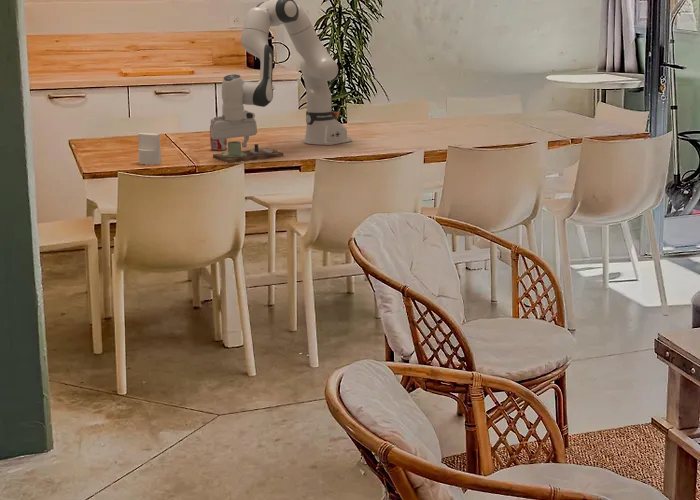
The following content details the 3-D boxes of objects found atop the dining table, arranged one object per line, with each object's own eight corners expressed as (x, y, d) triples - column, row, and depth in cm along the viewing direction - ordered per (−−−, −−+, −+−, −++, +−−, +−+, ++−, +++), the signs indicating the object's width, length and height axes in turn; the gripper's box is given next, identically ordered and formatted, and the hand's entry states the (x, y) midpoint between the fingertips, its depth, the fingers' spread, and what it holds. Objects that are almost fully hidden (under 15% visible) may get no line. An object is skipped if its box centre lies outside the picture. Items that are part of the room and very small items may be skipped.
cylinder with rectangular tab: (134, 164, 408) (133, 135, 405) (146, 160, 416) (145, 131, 413) (153, 165, 405) (152, 136, 401) (165, 161, 413) (164, 132, 410)
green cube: (237, 152, 421) (236, 140, 420) (242, 154, 417) (242, 142, 416) (226, 153, 419) (225, 142, 417) (232, 155, 415) (231, 143, 413)
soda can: (227, 148, 443) (226, 120, 439) (226, 150, 436) (225, 123, 433) (211, 148, 442) (210, 121, 439) (209, 151, 436) (208, 123, 432)
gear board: (266, 151, 435) (266, 140, 433) (283, 156, 424) (283, 144, 422) (212, 157, 421) (212, 146, 419) (228, 163, 409) (228, 151, 408)
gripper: (214, 118, 405) (215, 151, 409) (258, 113, 416) (259, 146, 420) (207, 116, 410) (208, 149, 414) (250, 111, 421) (251, 144, 425)
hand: (234, 148), depth 417 cm, fingers open, 8 cm apart
